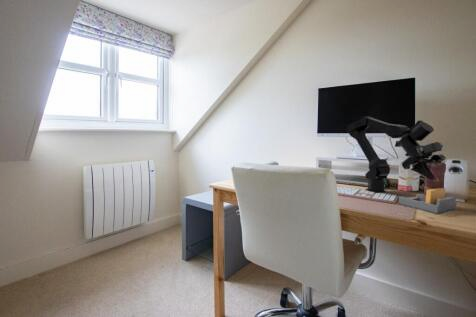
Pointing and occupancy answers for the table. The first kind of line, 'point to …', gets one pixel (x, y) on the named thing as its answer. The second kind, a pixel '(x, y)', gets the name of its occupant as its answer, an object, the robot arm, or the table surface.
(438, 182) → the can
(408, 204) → the grey shallow open box
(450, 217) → the table surface
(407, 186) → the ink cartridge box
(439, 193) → the wedge
